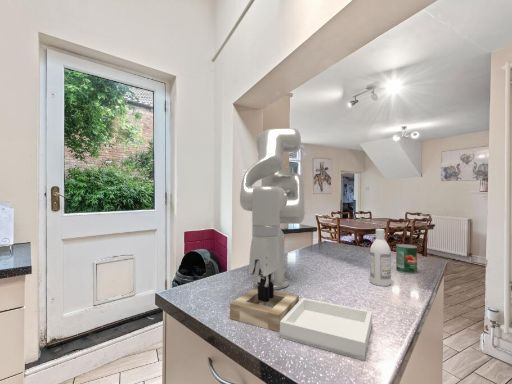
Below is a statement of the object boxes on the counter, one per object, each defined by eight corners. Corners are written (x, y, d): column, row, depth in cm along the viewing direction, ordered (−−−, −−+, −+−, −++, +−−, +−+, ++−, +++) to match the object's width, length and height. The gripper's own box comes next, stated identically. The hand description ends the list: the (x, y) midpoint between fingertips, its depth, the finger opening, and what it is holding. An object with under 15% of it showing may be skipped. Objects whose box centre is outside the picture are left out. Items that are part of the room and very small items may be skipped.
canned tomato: (399, 267, 118) (399, 243, 119) (419, 271, 113) (419, 245, 113) (393, 271, 113) (393, 245, 113) (414, 275, 107) (414, 248, 107)
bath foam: (393, 283, 97) (393, 229, 97) (387, 288, 92) (387, 230, 92) (373, 279, 102) (373, 227, 102) (367, 283, 97) (367, 229, 97)
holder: (255, 300, 81) (255, 287, 81) (298, 309, 74) (298, 295, 74) (229, 318, 69) (229, 303, 69) (279, 332, 62) (279, 314, 62)
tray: (302, 310, 74) (302, 297, 74) (371, 325, 65) (371, 311, 65) (279, 337, 60) (279, 321, 60) (364, 361, 51) (364, 342, 51)
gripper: (266, 227, 80) (265, 287, 80) (239, 234, 66) (238, 307, 66) (289, 229, 77) (289, 292, 77) (265, 236, 63) (265, 313, 63)
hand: (265, 298), depth 71 cm, fingers closed, pressing on screw
